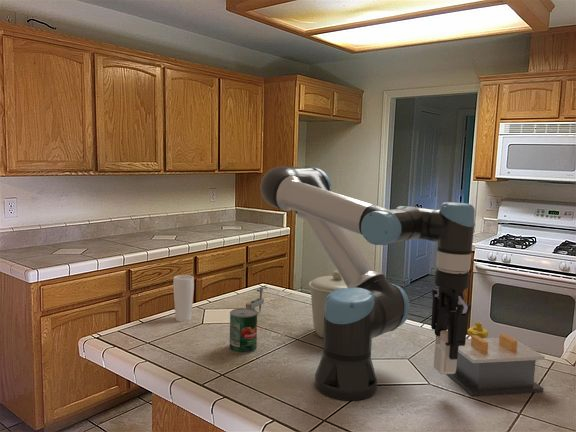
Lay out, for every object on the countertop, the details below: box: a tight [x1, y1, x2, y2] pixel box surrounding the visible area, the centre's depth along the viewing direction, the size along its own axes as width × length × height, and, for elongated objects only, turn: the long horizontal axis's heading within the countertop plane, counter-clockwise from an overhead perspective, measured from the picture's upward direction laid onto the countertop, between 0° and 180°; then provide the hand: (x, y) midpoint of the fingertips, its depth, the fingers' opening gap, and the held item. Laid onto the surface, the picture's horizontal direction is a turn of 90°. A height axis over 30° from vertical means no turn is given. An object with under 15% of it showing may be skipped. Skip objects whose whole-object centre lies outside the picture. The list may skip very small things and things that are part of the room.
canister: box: [308, 269, 348, 339], centre depth 150 cm, size 18×18×21 cm
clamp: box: [245, 286, 268, 313], centre depth 168 cm, size 15×2×10 cm, turn 160°
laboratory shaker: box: [446, 333, 546, 397], centre depth 121 cm, size 19×14×11 cm
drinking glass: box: [172, 274, 195, 323], centre depth 161 cm, size 7×7×15 cm
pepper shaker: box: [433, 329, 455, 375], centre depth 112 cm, size 4×4×10 cm
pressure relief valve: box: [467, 321, 489, 338], centre depth 134 cm, size 6×12×10 cm, turn 51°
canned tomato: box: [229, 307, 258, 354], centre depth 138 cm, size 8×8×11 cm
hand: (444, 366), depth 112 cm, fingers closed on pepper shaker, 4 cm apart
